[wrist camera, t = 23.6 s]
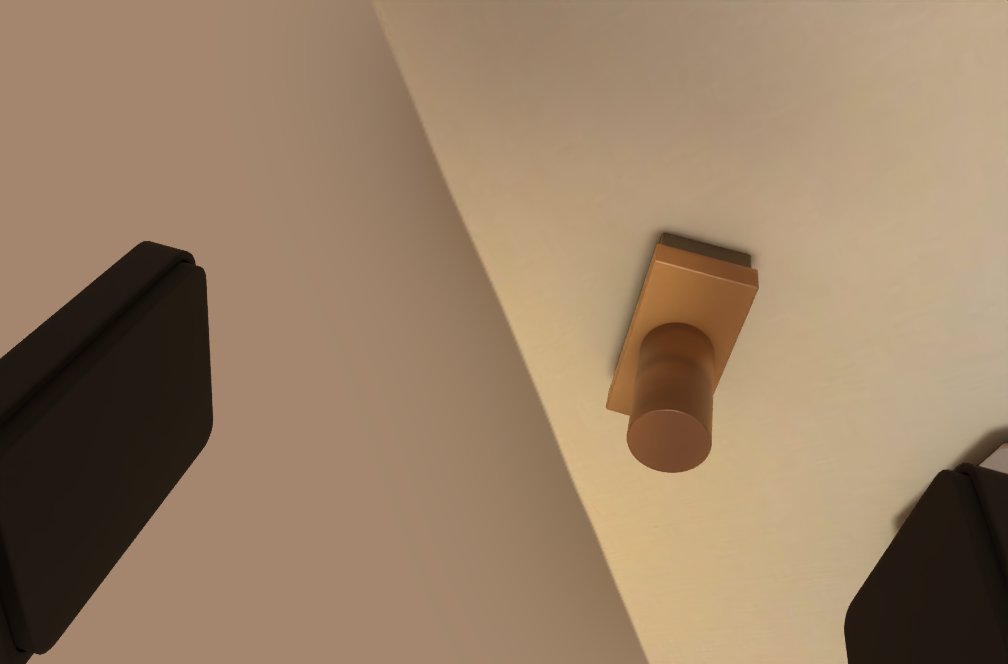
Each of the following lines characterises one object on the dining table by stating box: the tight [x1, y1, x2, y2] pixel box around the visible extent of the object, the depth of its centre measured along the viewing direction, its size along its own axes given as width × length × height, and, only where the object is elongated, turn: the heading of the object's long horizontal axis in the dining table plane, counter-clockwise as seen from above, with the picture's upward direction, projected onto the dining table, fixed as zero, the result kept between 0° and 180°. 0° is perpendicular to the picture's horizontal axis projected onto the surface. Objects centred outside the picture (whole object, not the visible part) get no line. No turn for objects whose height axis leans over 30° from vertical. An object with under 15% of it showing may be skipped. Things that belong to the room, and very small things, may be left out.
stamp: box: [606, 233, 759, 473], centre depth 36 cm, size 4×8×9 cm, turn 170°
